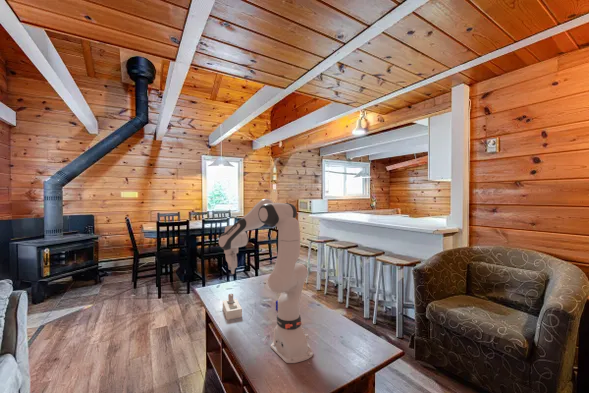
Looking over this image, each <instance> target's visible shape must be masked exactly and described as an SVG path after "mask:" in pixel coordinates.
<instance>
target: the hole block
mask: <svg viewBox="0 0 589 393" xmlns="http://www.w3.org/2000/svg"><path fill="white" fill-rule="evenodd" d="M222 310H223V313H224V315H225V318H226V321H228V320H234V319H238V318H242V317H243V308H242V306H241V305H240V303H239V300H238V298H233V303H232V304H228V299H227V300H222Z"/></svg>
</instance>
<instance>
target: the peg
mask: <svg viewBox="0 0 589 393" xmlns="http://www.w3.org/2000/svg"><path fill="white" fill-rule="evenodd" d="M233 299H234V293H229V294H228V299H227V300H228V304H232V303H233Z"/></svg>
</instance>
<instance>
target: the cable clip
mask: <svg viewBox="0 0 589 393" xmlns="http://www.w3.org/2000/svg"><path fill="white" fill-rule="evenodd" d="M275 311H277V312H278V299H277V300H276V301H275Z"/></svg>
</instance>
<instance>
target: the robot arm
mask: <svg viewBox="0 0 589 393" xmlns="http://www.w3.org/2000/svg"><path fill="white" fill-rule="evenodd" d="M297 215H298V213H297V208H296V206H295V205H293V204H292V203H290V202H289V203H288V202H284V203H283V202H273V200H271V199H269V198H262V199H260V201H258V202H257V203H256V204H255V205H254V206H253V207H252V209H251V210H250V211H248V212H247V214H245V215H244V216H242V217H241V218H240V219H239V220H237V221H236V222H234V224H231V225H230V224H229V225H226V226H225V227H224V233H221V235H220V236H219V238H218V243H217V244H218V246H219V247H220V248H221V249H222V250H223V254H225V261H226V262H227V266H228V270H230V274H232V275H234V274H235V270H236V268H238V256H237V254H239V248H242V247H246V246H247V245H248V243H249V233H247V232H248V231H251V230H256V229H260V228H262V226H264V225H266V226H269V227H271V228H275V227H276V228H277V230H278V235H277V236H278V237H277V238H278V239H277V256H276V260H275V265H274V267H273V269H272V271H271V273H270V275H269V276H268V279H267V285H268V288H269V289H270V291H271V292H272V293H274V294H280V295H279V297H278V299H277V300H278V311H277V315H276V325H275V327H274V329H273V341H272V343H271V344H270V348H271V350H272V351H274V352H275V353H276V354H277V356H279V357H280V358H281V359H282V360H283V361H284V362H285V363H287V364H295V363H301V362H304V361H306V360H309V359H310V358H312V357H313V356H314V352H313V350H312V348H311V346H310V344H309V342H308V340H309V334H308V333H305V331H306V330H305V328H303V325H302V318H301V313H300V312H301V311H300V307H301V296H302V292H303V288H304V284H305V282H306V280H307V279H308V276H309V271H308V268H307V267H306V265H304V264H303V263H299V262H297V261H298V259H299V258H300V255H301V230H300V228H301V227H300V225H299V224H300V223H299V220H298V219H297Z"/></svg>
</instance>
